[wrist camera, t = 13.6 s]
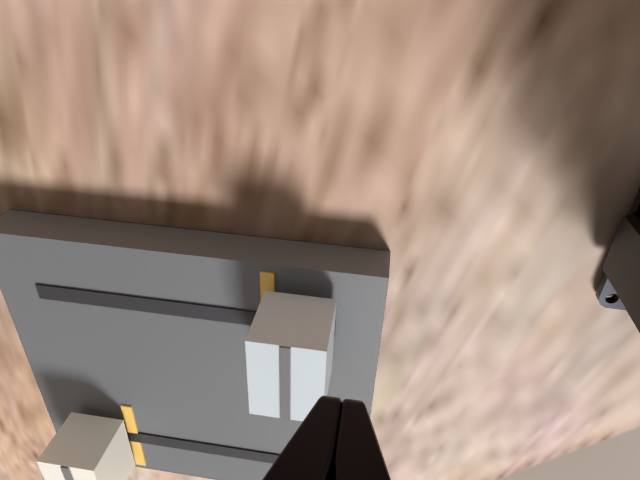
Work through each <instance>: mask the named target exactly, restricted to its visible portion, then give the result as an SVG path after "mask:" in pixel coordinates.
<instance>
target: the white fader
mask: <svg viewBox="0 0 640 480" xmlns="http://www.w3.org/2000/svg"><path fill="white" fill-rule="evenodd" d="M336 301H337V299H329V298H321V297H313V296H304V295H296V294H288V293H280V292H271V291H264V294H263V296H262V299H261V301H260V304H259V307H258V309H257V312H256V314H255V317H254V319H253V322H252V324H251V327H250V329H249V332H248V334H247V337H246V339H245V350H246V367H247V383H248V399H249V414H255V415H262V416H269V417H276V418H280V420H282V421H288V422H290V420H296V421H303V420H304V419H305V418H306V416H307V415H308V413H309V412H310V410H311V409H312V408H313V406H314V405H315V403H316V402H317V400H318V399H319V398H320V397H321V396H327V395H328V389H329V383H330V377H331V371H332V359H333V345H334V330H335V315H336Z"/></svg>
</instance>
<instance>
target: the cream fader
mask: <svg viewBox="0 0 640 480" xmlns="http://www.w3.org/2000/svg"><path fill="white" fill-rule="evenodd" d="M37 463H38V466H39V468H40V470H41V472H42V475H43V477H44V479H45V480H128V479H129V477H130V475H131V473H132V471H133V469H134V467H135V461H134V458H133V454H132V450H131V447H130V443H129V439H128V435H127V432H126V428H125V424H124V421H123V420H119V419H113V418H106V417H100V416H93V415H87V414H80V413H74V412H71V413H70V415H69V416H68V418H67V419H66V420H65V422H64V423H63V425H62V426H61V428H60V429H59V430H58V432H57V433H56V435H55V436H54V438H53V439H52V440H51V442H50V443H49V445H48V446H47V448H46V449H45V450H44V452H43V453H42V455H41V456H40V458H39V459H38V460H37Z"/></svg>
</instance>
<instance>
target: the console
mask: <svg viewBox="0 0 640 480" xmlns="http://www.w3.org/2000/svg"><path fill="white" fill-rule="evenodd" d="M389 265H390V251H384V250H375V249H365V248H356V247H347V246H338V245H329V244H320V243H311V242H301V241H292V240H283V239H274V238H265V237H256V236H246V235H237V234H228V233H219V232H210V231H201V230H191V229H182V228H173V227H164V226H155V225H146V224H136V223H127V222H118V221H109V220H100V219H91V218H82V217H72V216H63V215H54V214H45V213H36V212H27V211H17V210H8V211H6V212H5V213H3V214H2V215H0V289H1V291H2V294H3V296H4V299H5V301H6V304H7V307H8V309H9V312H10V314H11V317H12V320H13V322H14V325H15V327H16V330H17V332H18V335H19V338H20V340H21V343H22V345H23V348H24V350H25V353H26V356H27V358H28V361H29V363H30V366H31V369H32V371H33V374H34V376H35V379H36V381H37V384H38V387H39V389H40V392H41V394H42V397H43V399H44V402H45V405H46V407H47V410H48V412H49V415H50V418H51V420H52V423H53V425H54V428H55V430H56V433H57V432H58V430H59V429H60V428H61V426H62V425H63V423H64V422H65V420H66V419H67V418H68V416H69V415H70V413H71V412H74V413H80V414H87V415H93V416H100V417H106V418H113V419H119V420H123V421H124V424H125V428H126V432H127V435H128V439H129V443H130V447H131V450H132V454H133V458H134V461H135V466H136V467H142V468H148V469H154V470H160V471H166V472H172V473H178V474H185V475H191V476H197V477H203V478H209V479H215V480H262V479H263V478H264V476H265V475H266V473H267V472H268V471H269V469H270V468H271V466H272V465H273V463H274V462H275V461H276V459H277V458H278V456H279V455H280V453H281V452H282V451H283V449H284V448H285V446H286V445H287V443H288V442H289V440H290V439H291V438H292V436H293V435H294V433H295V432H296V430H297V429H298V428H299V426H300V425H301V423H302V422H303V421H296V420H290V422H288V421H282V420H280V418H276V417H269V416H262V415H255V414H249V399H248V383H247V367H246V350H245V339H246V337H247V334H248V332H249V329H250V327H251V324H252V322H253V319H254V317H255V314H256V312H257V309H258V307H259V304H260V301H261V299H262V296H263V294H264V291H271V292H280V293H288V294H296V295H304V296H313V297H321V298H329V299H337V301H336V315H335V330H334V345H333V359H332V371H331V377H330V383H329V389H328V395H327V396H331V397H338V398H340V399H341V400H342V402H343V400H344V399H353V400H360V401H363V402H364V403H365V405H366V408H367V411H368V414H369V416H370V413H371V406H372V399H373V391H374V384H375V377H376V369H377V362H378V355H379V347H380V340H381V332H382V325H383V318H384V310H385V303H386V296H387V288H388V281H389Z"/></svg>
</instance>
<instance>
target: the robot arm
mask: <svg viewBox="0 0 640 480" xmlns="http://www.w3.org/2000/svg"><path fill="white" fill-rule="evenodd" d="M602 269H603V271H604V275H603V277H602V279H601V282H600V284H599V286H598V289H597V291H596V297H597V299H598V301H599V303H600V304H601V305H602V306H603V307H606V308H612V309H621V310H627V312H628V313H629V315H630V317H631V319H632V320H633V322H634V324H635V325H636V327H637V329H638V331H639V332H640V189H639V191H638V194H637V196H636V198H635V201H634V203H633V206H632V208H631V210H630V212H628V213H627V214H626V215H625V216H624V217H623V218H622V221H621V223H620V226H619V228H618V231H617V233H616V235H615V238H614V240H613V243H612V245H611V247H610V250H609V252H608V255H607V257H606V259H605V262H604V264H603V267H602ZM610 294H615V295H614V296H612V297H608V298H606V297H607V296H608V295H610ZM262 480H391V479H390V476H389V473H388V470H387V467H386V464H385V461H384V458H383V455H382V452H381V449H380V446H379V443H378V440H377V437H376V434H375V431H374V428H373V425H372V422H371V419H370V416H369V414H368V411H367V408H366V405H365V403H364V402H363V401H360V400H353V399H344V400H343V402H342V400H341V399H340V398H338V397H331V396H321V397H320V398H319V399H318V400H317V402H316V403H315V405H314V406H313V408H312V409H311V410H310V412H309V413H308V415H307V416H306V418H305V419H304V420H303V422H302V423H301V425H300V426H299V428H298V429H297V430H296V432H295V433H294V435H293V436H292V438H291V439H290V440H289V442H288V443H287V445H286V446H285V448H284V449H283V451H282V452H281V453H280V455H279V456H278V458H277V459H276V461H275V462H274V463H273V465H272V466H271V468H270V469H269V471H268V472H267V473H266V475H265V476H264V478H263V479H262Z"/></svg>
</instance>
